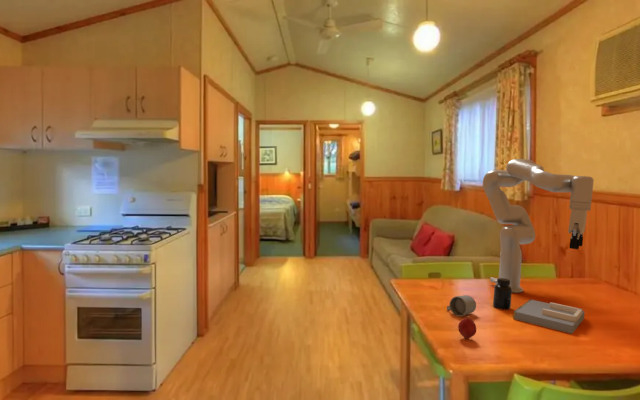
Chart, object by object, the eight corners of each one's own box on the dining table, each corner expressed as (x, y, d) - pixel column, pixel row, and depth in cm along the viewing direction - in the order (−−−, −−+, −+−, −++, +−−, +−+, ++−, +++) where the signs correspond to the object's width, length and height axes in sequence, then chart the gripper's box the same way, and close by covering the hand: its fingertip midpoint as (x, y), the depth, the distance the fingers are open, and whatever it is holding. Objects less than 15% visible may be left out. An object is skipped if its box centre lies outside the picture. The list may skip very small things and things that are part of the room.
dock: (513, 318, 162) (514, 306, 161) (529, 306, 178) (530, 294, 177) (572, 333, 148) (573, 320, 148) (584, 318, 165) (585, 306, 164)
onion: (454, 335, 143) (456, 312, 142) (470, 335, 143) (472, 312, 143) (461, 342, 137) (463, 319, 137) (478, 342, 138) (480, 319, 137)
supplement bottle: (512, 310, 171) (514, 282, 170) (494, 309, 172) (496, 280, 171) (508, 305, 178) (510, 278, 177) (491, 303, 179) (493, 276, 178)
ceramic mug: (477, 314, 164) (478, 295, 164) (465, 319, 159) (466, 299, 159) (453, 307, 173) (454, 289, 172) (442, 311, 168) (442, 292, 167)
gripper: (572, 204, 179) (569, 243, 181) (565, 206, 166) (561, 248, 167) (593, 205, 174) (589, 245, 176) (588, 208, 161) (583, 251, 163)
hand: (575, 247), depth 172 cm, fingers open, 9 cm apart
